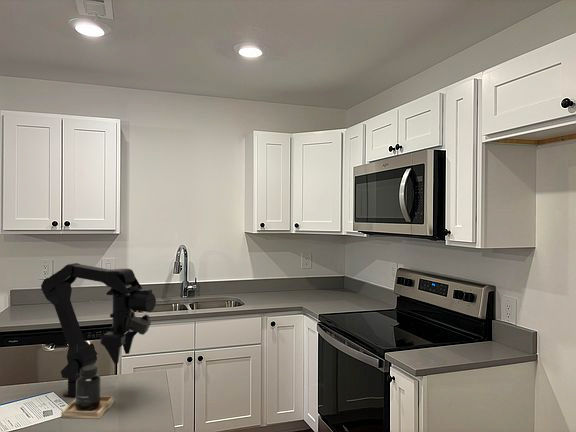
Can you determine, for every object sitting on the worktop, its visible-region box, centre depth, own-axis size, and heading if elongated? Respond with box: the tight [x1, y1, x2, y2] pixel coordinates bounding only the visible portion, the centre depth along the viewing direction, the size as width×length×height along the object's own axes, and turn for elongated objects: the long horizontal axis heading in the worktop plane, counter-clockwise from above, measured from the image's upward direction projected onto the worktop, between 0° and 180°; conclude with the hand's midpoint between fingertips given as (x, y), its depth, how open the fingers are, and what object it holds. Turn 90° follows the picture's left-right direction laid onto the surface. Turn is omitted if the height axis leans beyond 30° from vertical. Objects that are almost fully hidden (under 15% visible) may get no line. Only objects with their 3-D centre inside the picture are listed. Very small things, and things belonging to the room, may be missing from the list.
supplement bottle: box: [75, 364, 102, 411], centre depth 136 cm, size 7×7×12 cm
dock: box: [60, 395, 115, 420], centre depth 136 cm, size 11×11×2 cm
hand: (121, 358), depth 143 cm, fingers open, 9 cm apart
